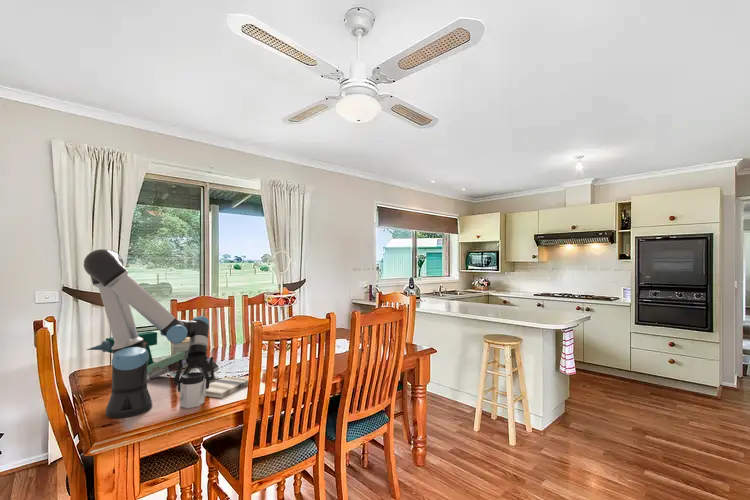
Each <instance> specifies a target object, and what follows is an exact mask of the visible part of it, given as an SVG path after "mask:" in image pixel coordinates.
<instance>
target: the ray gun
mask: <svg viewBox="0 0 750 500" xmlns="http://www.w3.org/2000/svg"><path fill="white" fill-rule="evenodd" d="M187 357H188V349H186V350H182V351H180V353H177V354H175V355H172V356H171V355H170V356H168V357H166V358H162V359H161V360H158V361H155V362H156V363H153V364H151V365H149V366H147V377H148V378H149V380H152V379H155V378H158V377H159V376H162V375H165V374H167V373H169V372H171V371H174V370H177V369H178V366H179V360H186V358H187ZM207 358H210V356H207ZM185 365H187V363H185ZM204 367H205V369H206V371H207V373H208V376H209V377H210V376H211V372H210V364H209V363H208V361H206V363H205V364H204ZM197 369H198V370H199V371H198V372H201V373H203V372H202V370H201V368H197ZM219 370H220V368H219V365H218V364H217V363H216V362H215V361H214V362H213V371H214V374H215V373H216V372H218V371H219ZM204 380H206V379H205V376H204Z"/></svg>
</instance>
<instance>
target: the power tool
mask: <svg viewBox="0 0 750 500" xmlns="http://www.w3.org/2000/svg"><path fill="white" fill-rule="evenodd" d="M137 334H138V336H139V337H142V338H143V339H144V343H145V346H146V349H147V350H148V352H149V360H148V365H147V366H149V365H151V364H153V363H156V362H157V361H154V360H153V356H152V351H151V349H150V347H152V346H156V345H158V332H156V331H153V330H152V331H150V330H149V331H144V332H137ZM113 345H114V339H113V336H112V337H106V338H105V340H103V341H102V342H101V344H98V345H95V346H93V347H89V348H88V349H87V348H86V351H88V350H89V351H102V352H103V353H106V352H107V353H110V354H113V352H112V349H111V348H112V347H113Z"/></svg>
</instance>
